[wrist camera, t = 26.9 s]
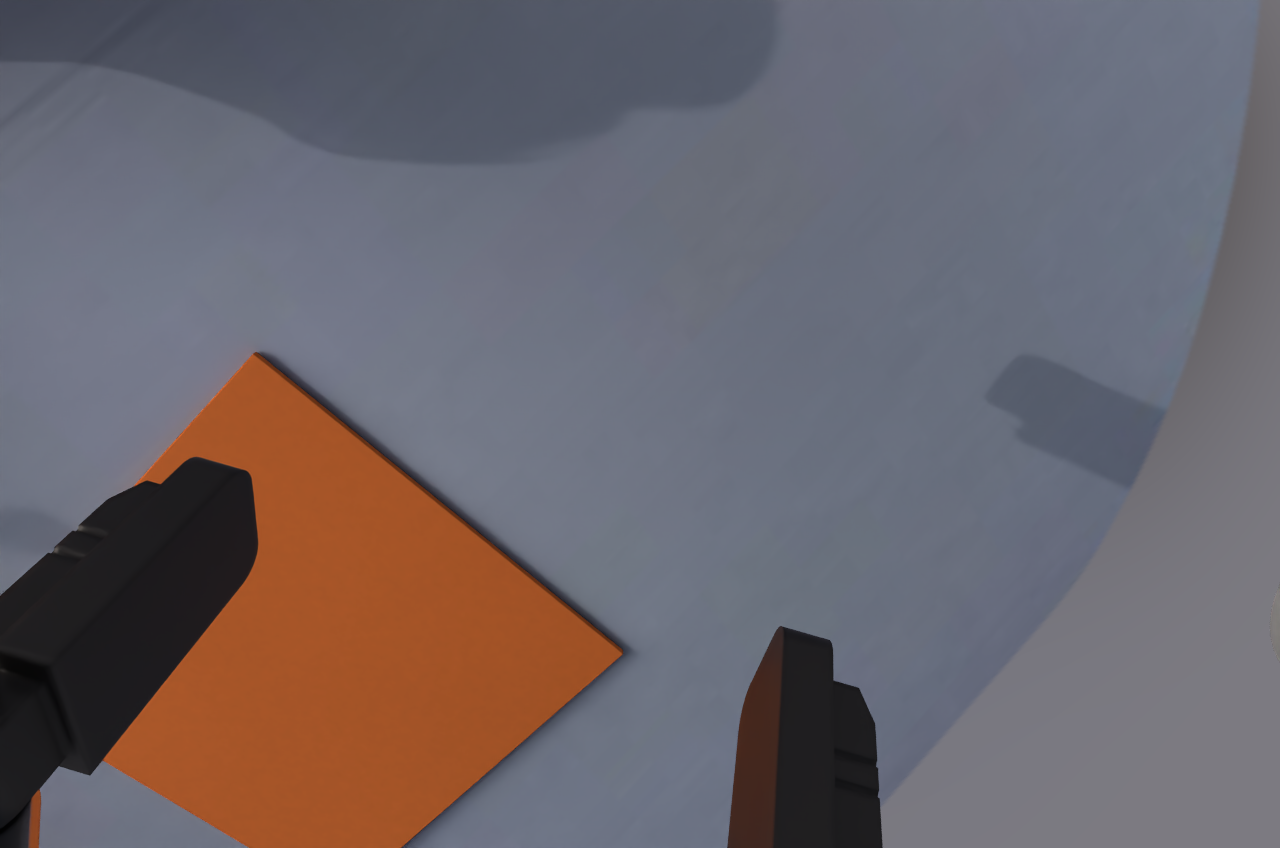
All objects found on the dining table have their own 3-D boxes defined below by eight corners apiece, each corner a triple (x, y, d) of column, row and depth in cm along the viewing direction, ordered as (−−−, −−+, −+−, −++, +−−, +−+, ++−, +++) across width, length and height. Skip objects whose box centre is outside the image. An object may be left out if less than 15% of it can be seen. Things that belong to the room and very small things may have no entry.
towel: (623, 649, 33) (623, 654, 33) (341, 896, 37) (339, 902, 37) (256, 351, 28) (253, 353, 28) (-33, 672, 32) (-38, 676, 31)
